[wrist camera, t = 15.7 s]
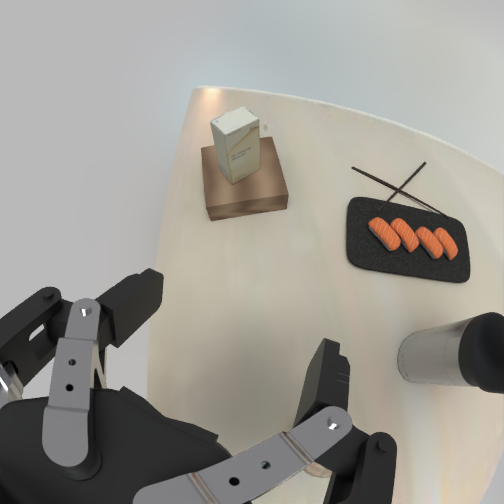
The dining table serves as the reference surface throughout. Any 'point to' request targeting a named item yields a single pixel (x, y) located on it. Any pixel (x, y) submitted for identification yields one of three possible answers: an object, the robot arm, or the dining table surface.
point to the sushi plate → (406, 238)
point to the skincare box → (237, 143)
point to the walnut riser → (244, 185)
